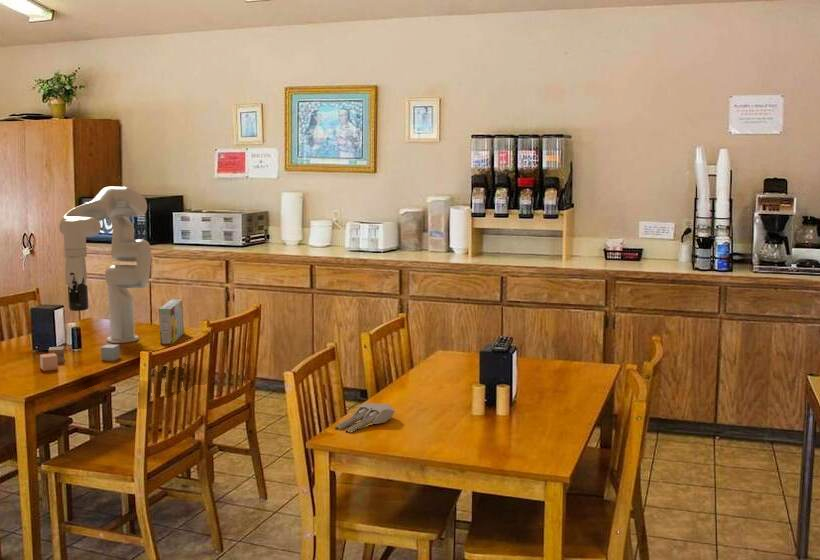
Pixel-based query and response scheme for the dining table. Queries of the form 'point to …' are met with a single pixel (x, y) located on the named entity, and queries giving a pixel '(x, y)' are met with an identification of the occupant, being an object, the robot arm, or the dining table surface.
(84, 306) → the supplement bottle
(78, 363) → the dining table surface
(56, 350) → the walnut block
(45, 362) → the terracotta block
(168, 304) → the snack box
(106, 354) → the slate block
